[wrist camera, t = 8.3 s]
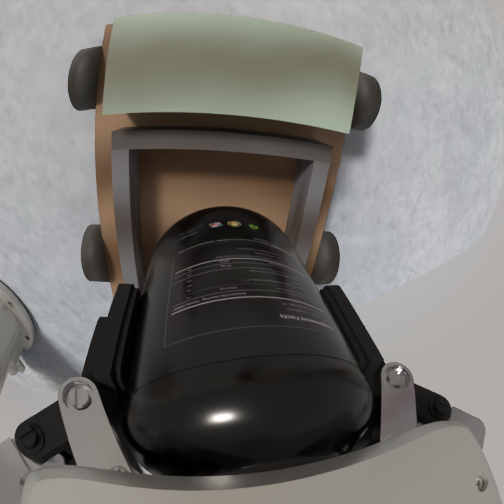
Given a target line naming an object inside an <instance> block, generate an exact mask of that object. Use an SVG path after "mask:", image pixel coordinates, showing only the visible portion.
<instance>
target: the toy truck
mask: <svg viewBox="0 0 504 504" xmlns="http://www.w3.org/2000/svg"><path fill="white" fill-rule="evenodd" d="M362 50H363V47H361V46H358V45H355V44H353V43H350V42H347V41H344V40H341V39H339V38H335V37H332V36H329V35H326V34H323V33H319V32H316V31H312V30H309V29H305V28H301V27H297V26H292V25H288V24H283V23H279V22H273V21H268V20H262V19H256V18H249V17H241V16H232V15H222V14H206V13H160V14H145V15H134V16H126V17H118V18H114V22H113V24H111V25H106V28H105V33H104V38H103V44H102V46H98V47H93V48H87V49H83V50H80V51H79V52H78V53H77V54H76V56H75V57H74V59H73V61H72V64H71V67H70V70H69V76H68V92H69V97H70V101H71V103H72V105H73V107H74V108H75V109H76V110H79V111H82V110H89V109H96V116H95V162H96V182H97V195H98V206H99V216H100V224H101V225H89V226H88V227H87V229H86V231H85V233H84V236H83V240H82V246H81V262H82V268H83V272H84V274H85V277H86V278H87V279H88V280H89V281H99V282H110V284H111V288H112V293H113V297H114V296H115V293H116V290H117V287H118V285H119V284H120V283H122V284H134V286H135V288H139V290H140V296H142V292H143V287H144V283H145V279H146V275H147V271H148V267H149V264H150V261H151V257H152V254H153V252H154V249H155V247H156V245H157V243H158V241H159V240H160V238H161V237H162V236H163V234H164V233H165V232H166V231H167V230H168V229H169V228H170V227H171V226H172V225H173V224H175V223H176V222H177V221H179V220H180V219H182V218H183V217H185V216H187V215H189V214H191V213H193V212H196V211H198V210H202V209H205V208H210V207H217V206H234V207H241V208H245V209H249V210H252V211H255V212H257V213H259V214H261V215H263V216H265V217H267V218H268V219H270V220H271V221H273V222H274V223H275V224H276V225H277V226H278V227H279V228H280V229H281V230H282V231H283V232H284V234H285V235H286V236H287V238H288V239H289V241H290V242H291V244H292V245H293V247H294V248H295V250H296V252H297V253H298V255H299V257H300V258H301V260H302V262H303V264H304V265H305V267H306V269H307V270H308V272H309V274H310V276H311V277H312V279H313V281H314V282H315V284H329V283H331V282H332V281H333V280H334V279H335V277H336V275H337V272H338V268H339V262H340V252H339V246H338V242H337V240H336V238H335V236H334V235H333V234H332V233H331V232H326V231H323V230H324V226H325V223H326V219H327V215H328V211H329V207H330V202H331V198H332V194H333V190H334V185H335V181H336V177H337V172H338V168H339V163H340V158H341V153H342V149H343V144H344V139H345V133H347V134H349V133H350V128H352V129H356V130H365V129H367V128H368V127H370V126H371V125H372V123H373V122H374V121H375V119H376V117H377V115H378V113H379V109H380V105H381V89H380V86H379V83H378V81H377V80H376V79H375V78H374V77H372V76H370V75H368V74H365V73H362V72H360V66H361V58H362Z"/></svg>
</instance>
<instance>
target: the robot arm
mask: <svg viewBox="0 0 504 504" xmlns="http://www.w3.org/2000/svg"><path fill="white" fill-rule="evenodd" d="M320 293H321V295H322V297H323V298H324V300H325V302H326V304H327V305H328V307H329V309H330V311H331V313H332V314H333V316H334V318H335V320H336V322H337V323H338V325H339V327H340V329H341V331H342V333H343V334H344V336H345V338H346V340H347V342H348V344H349V345H350V347H351V349H352V351H353V353H354V355H355V357H356V359H357V361H358V362H359V364H360V366H361V368H362V370H363V372H364V374H365V377H366V379H367V381H368V383H369V386H370V388H371V391H372V395H373V411H372V417H371V421H370V424H369V426H368V429H367V431H366V432H365V434H364V436H363V437H362V439H361V440H360V441H359V443H358V444H357V445H356V446H355V448H354V449H353V450H352V451H351V453H347V454H344V455H341V456H337V457H334V458H330V459H326V460H322V461H318V462H314V463H310V464H306V465H301V466H296V467H291V468H285V469H280V470H273V471H267V472H259V473H250V474H240V475H227V476H202V477H187V476H163V475H148V474H145V472H144V470H143V468H142V466H141V465H140V464H139V463H138V462H137V461H136V460H135V458H134V457H133V455H132V454H131V452H130V450H129V449H128V447H127V445H126V442H125V440H124V436H123V432H122V411H123V401H124V392H125V384H126V377H127V370H128V363H129V357H130V351H131V345H132V340H133V334H134V329H135V324H136V319H137V314H138V309H139V305H140V300H141V296H140V290H139V288H135V286H134V284H122V283H120V284H119V285H118V287H117V290H116V293H115V296H114V298H113V301H112V304H111V308H110V311H109V314H108V317H100V318H99V319H98V321H97V324H96V327H95V331H94V334H93V337H92V340H91V344H90V347H89V350H88V354H87V357H86V361H85V365H84V368H83V372H82V376H81V377H72V378H70V379H67V380H66V381H65V382H64V383H63V384H62V385H61V387H60V388H59V392H58V401H56V402H55V403H53V404H51V405H50V406H48V407H47V408H45V409H43V410H42V411H40V412H38V413H37V414H35V415H34V416H32V417H30V418H29V419H27V420H25V421H24V422H22V423H21V424H20V425H19V426H18V427H17V429H16V432H15V437H14V438H13V439H11V438H8V439H6V440H5V441H4V442H2V443H1V444H0V504H502V502H501V498H500V495H499V492H498V489H497V486H496V483H495V480H494V477H493V475H492V472H491V469H490V467H489V464H488V462H487V460H486V458H485V456H484V453H483V451H482V448H483V443H484V437H485V426H484V424H483V422H482V421H481V420H480V419H478V418H476V417H474V416H472V415H470V414H468V413H466V412H463V411H462V410H460V409H457V408H456V407H452V408H451V406H450V404H449V402H448V401H447V400H446V398H444V397H443V396H441V395H439V394H437V393H435V392H432V391H430V390H428V389H425V388H423V387H421V386H419V385H416V384H414V381H413V376H412V374H411V372H410V370H409V369H408V368H407V367H406V366H404V365H402V364H400V363H397V362H390V363H387V364H385V363H384V361H383V360H384V359H383V357H382V356H381V354H380V352H379V350H378V349H377V347H376V345H375V343H374V342H373V340H372V338H371V337H370V335H369V333H368V332H367V330H366V328H365V326H364V325H363V323H362V321H361V320H360V318H359V316H358V315H357V313H356V312H355V310H354V308H353V307H352V305H351V303H350V302H349V300H348V298H347V297H346V295H345V294H344V292H343V290H342V289H341V287H340V286H338V285H330V286H325V287H324V288H323V289H321V290H320ZM34 337H35V331H34V326H33V323H32V321H31V319H30V317H29V314H28V313H27V311H26V310H25V308H24V306H23V305H22V304H21V302H20V301H19V300H18V298H17V297H16V296H15V295H14V294H13V293H12V292H11V291H10V290H9V289H8V288H7V287H6V286H5V285H4V284H3V283H1V282H0V394H1V391H2V388H3V385H4V382H5V379H6V376H7V374H8V372H9V373H10V375H15V374H17V372H18V371H19V372H23V371H24V370H25V366H24V364H23V363H22V362H21V360H20V359H19V356H20V354H21V352H22V350H27V349H29V348H30V347H31V345H32V343H33V341H34Z"/></svg>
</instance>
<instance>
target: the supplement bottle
mask: <svg viewBox="0 0 504 504" xmlns="http://www.w3.org/2000/svg"><path fill="white" fill-rule="evenodd" d="M372 411H373V395H372V391H371V388H370V386H369V383H368V381H367V379H366V377H365V374H364V372H363V370H362V368H361V366H360V364H359V362H358V361H357V359H356V357H355V355H354V353H353V351H352V349H351V347H350V345H349V344H348V342H347V340H346V338H345V336H344V334H343V333H342V331H341V329H340V327H339V325H338V323H337V322H336V320H335V318H334V316H333V314H332V313H331V311H330V309H329V307H328V305H327V304H326V302H325V300H324V298H323V297H322V295H321V293H320V291H319V289H318V288H317V286H316V284H315V282H314V281H313V279H312V277H311V276H310V274H309V272H308V270H307V269H306V267H305V265H304V264H303V262H302V260H301V258H300V257H299V255H298V253H297V252H296V250H295V248H294V247H293V245H292V244H291V242H290V241H289V239H288V238H287V236H286V235H285V234H284V232H283V231H282V230H281V229H280V228H279V227H278V226H277V225H276V224H275V223H274V222H273V221H271V220H270V219H268V218H267V217H265V216H263V215H261V214H259V213H257V212H255V211H252V210H249V209H245V208H241V207H234V206H217V207H210V208H205V209H202V210H198V211H196V212H193V213H191V214H189V215H187V216H185V217H183V218H182V219H180V220H179V221H177V222H176V223H175V224H173V225H172V226H171V227H170V228H169V229H168V230H167V231H166V232H165V233H164V234H163V236H162V237H161V238H160V240H159V241H158V243H157V245H156V247H155V249H154V252H153V254H152V257H151V261H150V264H149V267H148V271H147V275H146V279H145V283H144V287H143V292H142V296H141V300H140V305H139V309H138V314H137V319H136V324H135V329H134V334H133V340H132V345H131V351H130V357H129V363H128V370H127V377H126V384H125V392H124V401H123V411H122V432H123V436H124V440H125V442H126V445H127V447H128V449H129V450H130V452H131V454H132V455H133V457H134V458H135V460H136V461H137V462H138V463H139V464H140V465H141V466H142V467H143V468H145V469H146V470H147V471H148V472H150V473H151V474H153V475H163V476H187V477H202V476H227V475H240V474H250V473H259V472H267V471H273V470H280V469H285V468H291V467H296V466H301V465H306V464H310V463H314V462H318V461H322V460H326V459H330V458H334V457H337V456H341V455H344V454H347V453H351V451H352V450H353V449H354V448H355V446H356V445H357V444H358V443H359V441H360V440H361V439H362V437H363V436H364V434H365V432H366V431H367V429H368V426H369V424H370V421H371V417H372Z"/></svg>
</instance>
